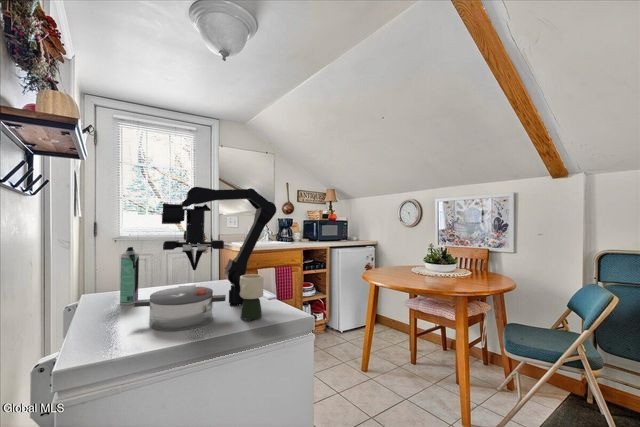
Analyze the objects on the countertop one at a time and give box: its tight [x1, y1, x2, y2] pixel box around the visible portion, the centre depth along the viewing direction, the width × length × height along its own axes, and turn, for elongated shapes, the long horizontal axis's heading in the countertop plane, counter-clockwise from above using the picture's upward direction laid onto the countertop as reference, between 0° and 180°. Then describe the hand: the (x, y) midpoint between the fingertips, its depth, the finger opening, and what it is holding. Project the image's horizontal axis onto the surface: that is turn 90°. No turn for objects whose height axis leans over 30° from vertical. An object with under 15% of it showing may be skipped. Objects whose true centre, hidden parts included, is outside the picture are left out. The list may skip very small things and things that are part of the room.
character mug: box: [240, 273, 264, 321], centre depth 93 cm, size 11×7×13 cm, turn 163°
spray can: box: [119, 246, 140, 306], centre depth 108 cm, size 6×6×20 cm
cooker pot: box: [133, 294, 227, 332], centre depth 90 cm, size 25×17×7 cm
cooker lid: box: [149, 284, 214, 305], centre depth 91 cm, size 17×19×3 cm
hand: (194, 270), depth 102 cm, fingers closed
